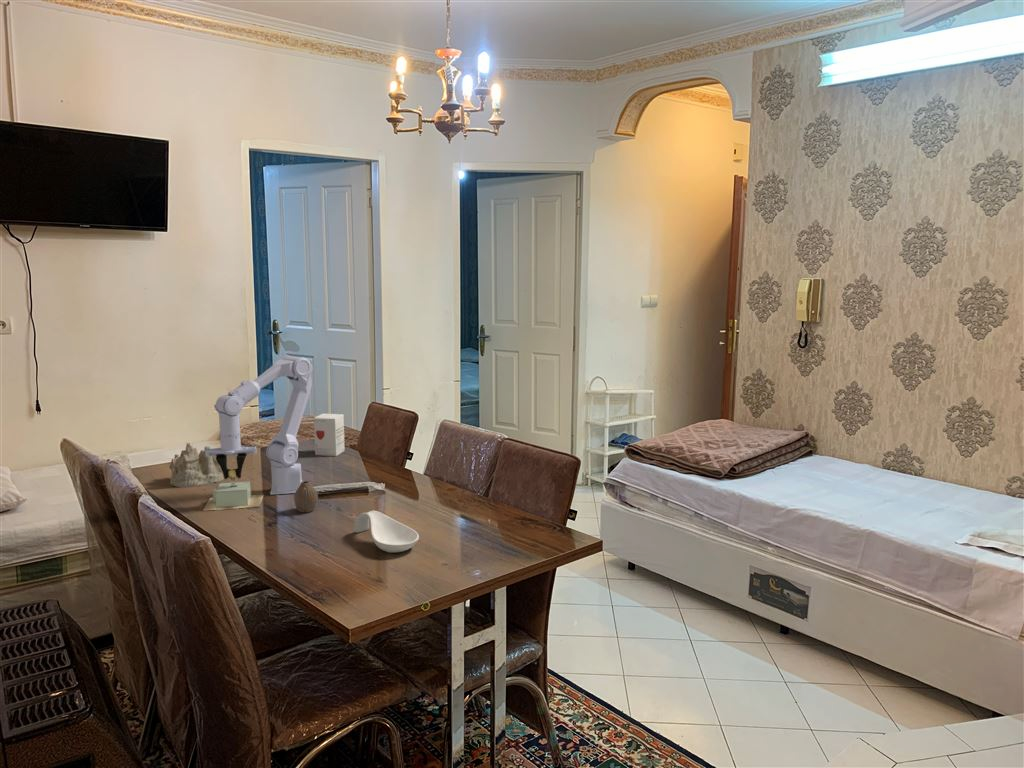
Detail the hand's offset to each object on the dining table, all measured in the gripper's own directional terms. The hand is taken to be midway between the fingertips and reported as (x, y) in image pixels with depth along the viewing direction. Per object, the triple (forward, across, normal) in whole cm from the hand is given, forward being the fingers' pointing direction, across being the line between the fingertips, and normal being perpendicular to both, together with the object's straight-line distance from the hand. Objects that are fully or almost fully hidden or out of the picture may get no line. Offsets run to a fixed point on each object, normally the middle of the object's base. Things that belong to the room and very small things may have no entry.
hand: (232, 477), depth 228 cm
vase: (+8, +22, -12) cm, 26 cm away
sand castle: (+8, -16, +29) cm, 34 cm away
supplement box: (+8, +28, +58) cm, 65 cm away
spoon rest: (+9, +43, -44) cm, 62 cm away
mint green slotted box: (+8, 0, 0) cm, 8 cm away
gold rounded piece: (+5, 0, 0) cm, 5 cm away
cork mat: (+8, 0, 0) cm, 8 cm away
